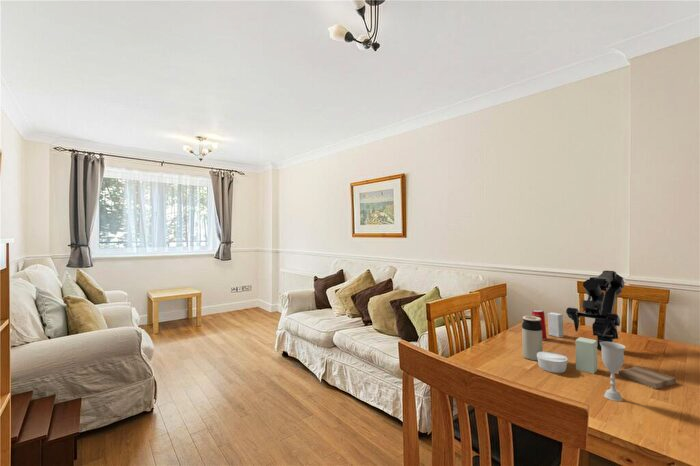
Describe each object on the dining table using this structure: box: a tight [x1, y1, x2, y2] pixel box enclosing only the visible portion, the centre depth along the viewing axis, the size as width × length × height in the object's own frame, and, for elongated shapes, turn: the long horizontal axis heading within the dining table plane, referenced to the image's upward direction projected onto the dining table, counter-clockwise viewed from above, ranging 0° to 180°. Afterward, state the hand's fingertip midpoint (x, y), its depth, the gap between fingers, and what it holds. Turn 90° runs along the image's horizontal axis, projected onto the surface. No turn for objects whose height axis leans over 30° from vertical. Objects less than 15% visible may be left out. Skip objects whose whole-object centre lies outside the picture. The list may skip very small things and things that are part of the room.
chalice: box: [600, 341, 626, 402], centre depth 113 cm, size 7×7×18 cm
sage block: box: [574, 336, 598, 374], centre depth 137 cm, size 6×6×12 cm
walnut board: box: [618, 365, 677, 390], centre depth 126 cm, size 12×12×2 cm
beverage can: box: [531, 309, 548, 341], centre depth 176 cm, size 6×6×15 cm
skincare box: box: [547, 312, 565, 338], centre depth 180 cm, size 6×4×12 cm
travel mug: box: [521, 315, 544, 361], centre depth 150 cm, size 8×8×18 cm
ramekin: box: [537, 351, 569, 374], centre depth 138 cm, size 11×11×5 cm
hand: (588, 333), depth 143 cm, fingers open, 9 cm apart
